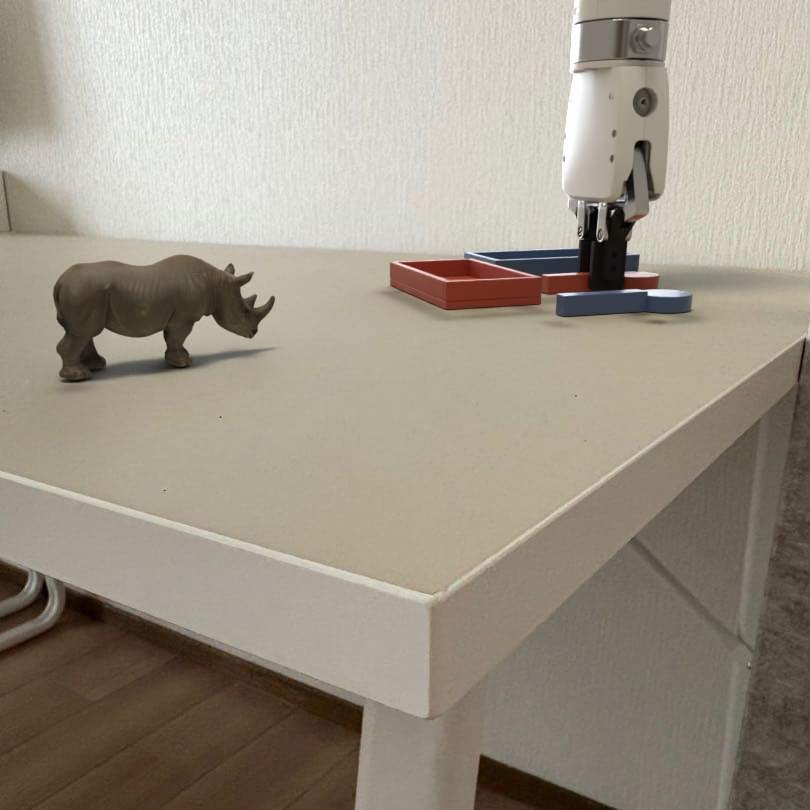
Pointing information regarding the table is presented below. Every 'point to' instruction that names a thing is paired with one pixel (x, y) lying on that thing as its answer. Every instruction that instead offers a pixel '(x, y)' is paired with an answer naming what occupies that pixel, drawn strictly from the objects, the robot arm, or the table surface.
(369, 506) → the table surface
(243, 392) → the table surface
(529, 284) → the red tray
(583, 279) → the red spoon
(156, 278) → the rhino figurine
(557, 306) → the blue spoon
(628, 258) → the blue tray
